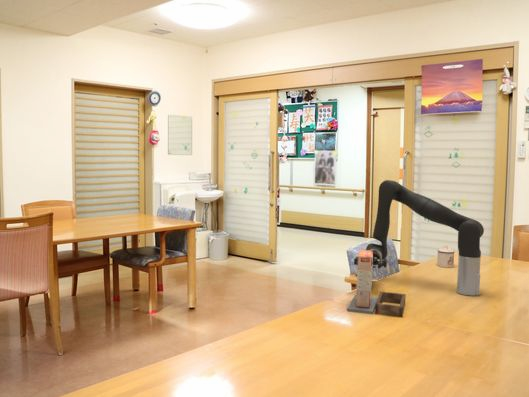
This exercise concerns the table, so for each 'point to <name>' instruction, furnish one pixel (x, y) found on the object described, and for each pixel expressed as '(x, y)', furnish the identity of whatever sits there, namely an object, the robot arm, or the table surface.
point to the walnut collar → (387, 308)
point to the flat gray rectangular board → (370, 310)
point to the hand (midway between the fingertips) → (368, 265)
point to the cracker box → (364, 278)
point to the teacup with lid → (445, 257)
